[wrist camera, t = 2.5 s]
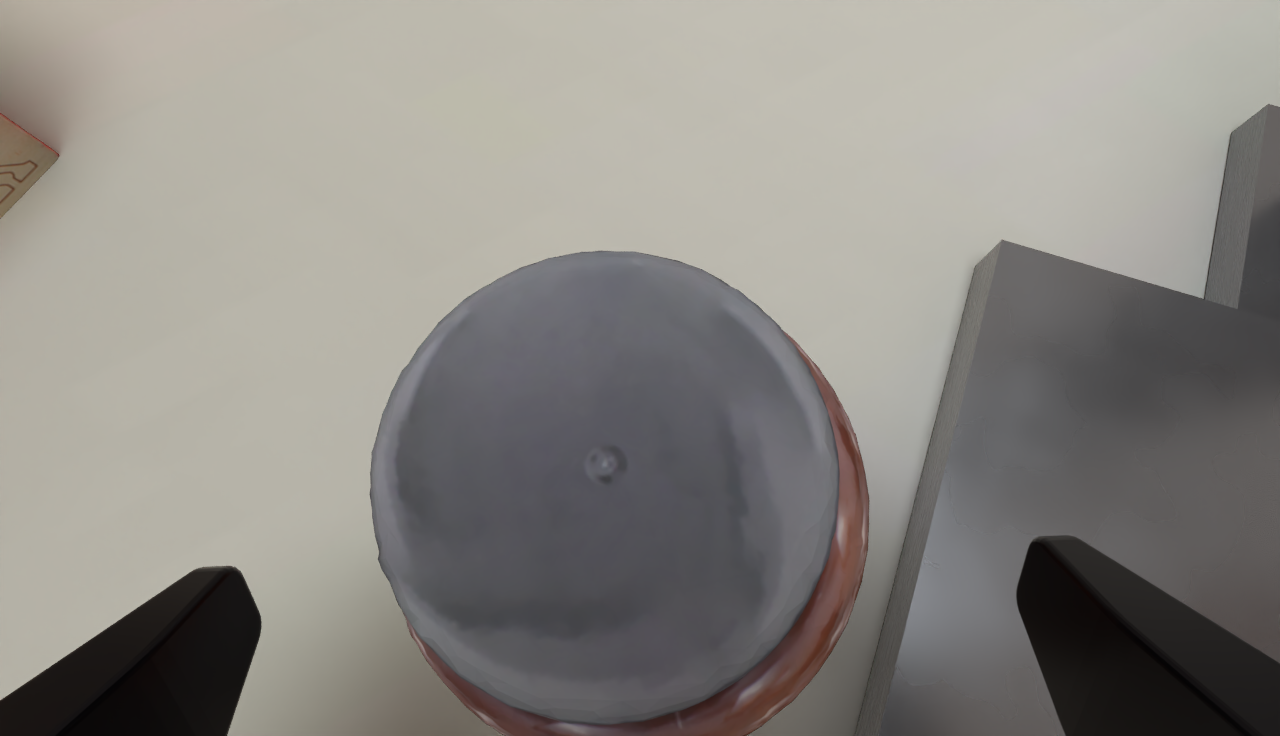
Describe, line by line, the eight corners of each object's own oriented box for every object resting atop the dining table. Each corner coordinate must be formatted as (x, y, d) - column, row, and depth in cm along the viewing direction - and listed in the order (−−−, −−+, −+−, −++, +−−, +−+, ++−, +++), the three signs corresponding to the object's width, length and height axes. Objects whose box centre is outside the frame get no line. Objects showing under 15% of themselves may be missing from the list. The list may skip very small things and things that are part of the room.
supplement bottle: (706, 371, 18) (769, 51, 7) (822, 600, 16) (1142, 655, 5) (484, 472, 17) (172, 299, 6) (581, 718, 16) (384, 1050, 5)
